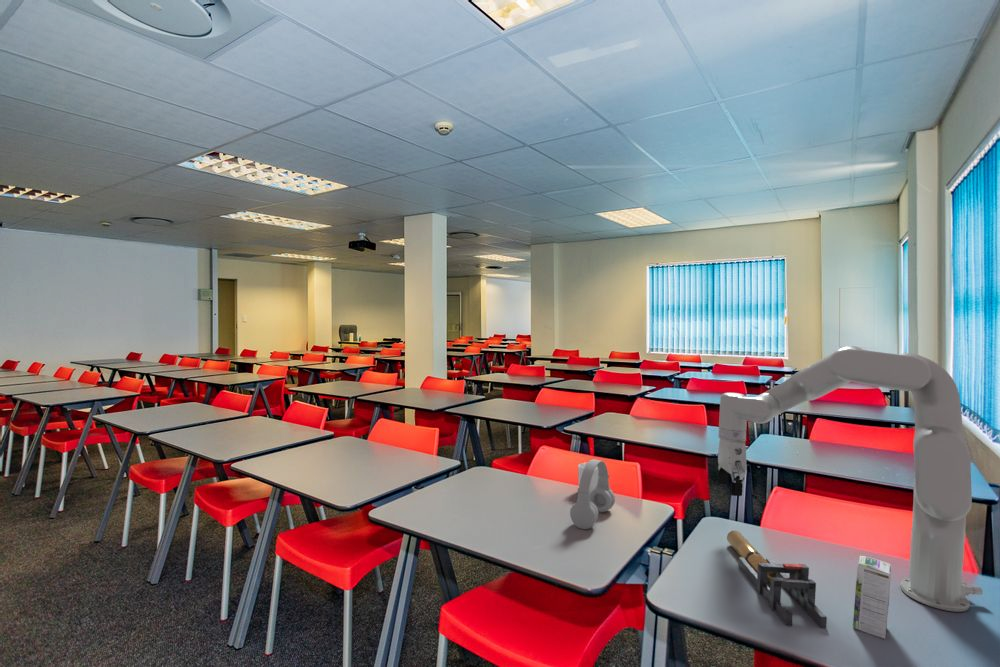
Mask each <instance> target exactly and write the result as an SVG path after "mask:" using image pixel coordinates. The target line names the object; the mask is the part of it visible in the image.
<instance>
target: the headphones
mask: <svg viewBox="0 0 1000 667" xmlns="http://www.w3.org/2000/svg"><path fill="white" fill-rule="evenodd" d="M586 463H587V464H586V466H585V468H584V470H583V473H582V476H581V480H580V485H579V484H578V488H577V492H578V494H577V498H576V499H577V500H576V502H575V503H573V505H572V506H571V508H570V511H569V516H570V520H571V522H572V523H573V525H575V527H577V528H578V529H581V530H588V529H591V528H592V527H593V526H595V524H596V522H598V519H599V513H605V512H607V511H609V510H610V509H612V508H613V506H614V504H615V501H616V495H615V493H614V491H613V490H612V489H611V487H610V482H609V479H610V474H609V473H608V472H609V471H608V468H607V465H606V462H605V461H603V460H599V459H594V458H593V459H590V460H589V461H588V462H586ZM596 466H597V467H598V472H599V473H598V476H599V478H598V484H597V486H596V487H595V488H594V489H593V490H592V491H591V492H590V491H589V487H590V482H591V478H592V475H593V472H594V470H595V468H596ZM589 493H590V494H589Z"/></svg>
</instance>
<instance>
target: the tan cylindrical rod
mask: <svg viewBox="0 0 1000 667" xmlns="http://www.w3.org/2000/svg"><path fill="white" fill-rule="evenodd" d="M726 540H727V543H729V545H730V546H731V547H732V548H733V549H734V551H736V553H737V554H738V556H739V557H743V558H744V559H745V560H746V561H747V562H748V563H749V565H750V566H751V567H752V568H753V569H754V570H755V572H756V573H757V572H758V563H768V562H767V561H766V559H765V558H764V556H763V555H762V554H761V553H759V551H758V550H757V549H756V548H755V547H754V546H753V545H752V544H751V543H750V542H749V541H748V539H747V538H746V537H745V536H744V535H743V534H742V533H741V532H740V531H738V530H731V531H729V532H728V533H727V536H726ZM771 577H776V573H774V572H767V584H769V583H770V584H771Z"/></svg>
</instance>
